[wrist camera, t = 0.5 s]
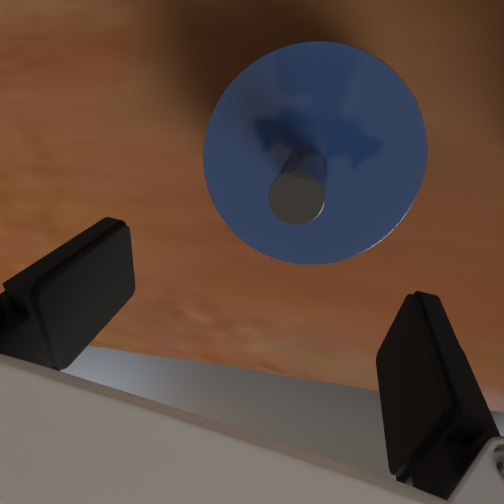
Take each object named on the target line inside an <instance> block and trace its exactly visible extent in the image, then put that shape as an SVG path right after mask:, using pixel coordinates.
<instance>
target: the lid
mask: <svg viewBox="0 0 504 504" xmlns="http://www.w3.org/2000/svg"><path fill="white" fill-rule="evenodd" d="M426 156H427V141H426V130H425V126H424V122H423V118H422V114H421V112H420V110H419V107H418V105H417V102H416V100H415V98H414V96H413V95H412V93H411V92H410V90H409V88H408V87H407V85H406V84H405V83H404V81H403V80H402V79H401V78H400V77H399V76H398V74H397V73H396V72H395V71H394V70H392V69H391V68H390V67H389V66H388V65H386V64H385V63H384V62H383V61H382V60H380V59H378V58H377V57H375V56H373V55H371V54H370V53H368V52H366V51H364V50H361V49H358V48H356V47H353V46H351V45H346V44H341V43H337V42H328V41H310V42H301V43H296V44H292V45H288V46H284V47H281V48H279V49H276V50H274V51H272V52H269V53H267V54H265V55H264V56H262V57H260V58H259V59H257V60H255V61H254V62H252V63H251V64H250V65H249V66H247V67H246V68H245V69H244V70H242V71H241V72H240V73H239V74H238V75H237V76H236V77H235V78H234V80H233V81H232V82H231V83H230V84H229V85H228V87H227V88H226V89H225V91H224V92H223V94H222V95H221V96H220V98H219V100H218V102H217V104H216V106H215V108H214V110H213V112H212V115H211V118H210V120H209V123H208V127H207V131H206V135H205V141H204V151H203V159H204V172H205V179H206V183H207V186H208V190H209V193H210V196H211V198H212V201H213V203H214V205H215V207H216V209H217V211H218V212H219V214H220V216H221V217H222V218H223V220H224V221H225V223H226V224H227V225H228V226H229V228H230V229H231V230H232V231H233V232H234V233H235V234H236V235H237V236H238V237H239V238H240V239H242V240H243V241H244V242H245V243H247V244H248V245H250V246H251V247H252V248H254V249H256V250H258V251H259V252H261V253H263V254H265V255H268V256H270V257H272V258H275V259H278V260H282V261H285V262H290V263H296V264H308V265H313V264H326V263H333V262H337V261H341V260H344V259H348V258H350V257H353V256H355V255H358V254H360V253H362V252H364V251H366V250H368V249H369V248H371V247H373V246H374V245H376V244H377V243H378V242H380V241H381V240H383V239H384V238H385V237H386V236H387V235H388V234H389V233H390V232H392V231H393V230H394V229H395V227H396V226H397V225H398V224H399V223H400V222H401V221H402V219H403V218H404V217H405V215H406V214H407V212H408V211H409V209H410V208H411V206H412V204H413V202H414V200H415V198H416V196H417V194H418V192H419V189H420V186H421V183H422V180H423V176H424V171H425V166H426Z"/></svg>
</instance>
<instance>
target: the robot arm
mask: <svg viewBox="0 0 504 504" xmlns="http://www.w3.org/2000/svg"><path fill="white" fill-rule="evenodd" d="M3 286H4V289H5V291H4V292H2V293H1V294H0V504H504V437H503V436H500V434H499V431H498V429H497V427H496V424H495V422H494V420H493V418H492V415H491V413H490V411H489V408H488V406H487V404H486V401H485V399H484V397H483V395H482V392H481V390H480V388H479V385H478V383H477V381H476V378H475V376H474V374H473V372H472V369H471V367H470V365H469V362H468V360H467V358H466V356H465V353H464V351H463V350H462V348H461V347H460V345H459V343H458V340H457V338H456V336H455V333H454V331H453V329H452V326H451V324H450V322H449V319H448V317H447V315H446V312H445V310H444V308H443V305H442V303H441V301H440V299H439V297H438V296H436V295H432V294H428V293H424V292H420V291H416V292H415V293H414V294H413V295H412V294H408V295H407V296H406V298H405V300H404V302H403V304H402V306H401V308H400V310H399V312H398V314H397V315H396V317H395V319H394V321H393V323H392V325H391V327H390V329H389V331H388V333H387V335H386V337H385V339H384V341H383V343H382V345H381V347H380V349H379V351H378V353H377V357H376V367H377V375H378V383H379V392H380V400H381V407H382V415H383V423H384V432H385V440H386V449H387V457H388V464H389V470H390V472H391V474H393V475H396V481H395V480H393V479H389V478H387V477H384V476H381V475H378V474H375V473H372V472H369V471H366V470H364V469H361V468H358V467H355V466H352V465H349V464H346V463H343V462H340V461H337V460H335V459H331V458H328V457H325V456H322V455H319V454H316V453H313V452H310V451H307V450H304V449H301V448H298V447H294V446H292V445H288V444H285V443H282V442H279V441H276V440H273V439H270V438H267V437H264V436H261V435H258V434H254V433H252V432H249V431H245V430H242V429H239V428H236V427H233V426H230V425H227V424H223V423H221V422H218V421H214V420H211V419H208V418H205V417H202V416H199V415H196V414H193V413H190V412H186V411H183V410H180V409H177V408H173V407H171V406H168V405H164V404H161V403H158V402H155V401H152V400H149V399H146V398H142V397H139V396H136V395H133V394H130V393H127V392H124V391H121V390H117V389H114V388H111V387H108V386H104V385H101V384H98V383H95V382H92V381H89V380H85V379H82V378H79V377H76V376H72V375H70V374H66V373H63V372H60V370H61V369H65V368H67V367H68V366H69V365H70V364H71V363H72V362H73V361H74V360H75V358H77V356H78V355H79V354H80V353H81V352H82V351H83V350H84V349H85V347H87V345H88V344H89V343H90V342H91V341H92V340H93V339H94V338H95V337H96V335H97V334H98V333H99V332H100V331H101V330H102V329H103V328H104V327H105V326H106V324H107V323H108V322H109V321H110V320H111V319H112V318H113V317H114V316H115V314H116V313H117V312H118V311H119V310H120V309H121V308H122V307H123V306H124V305H125V303H126V302H127V301H128V300H129V299H130V298H131V297H132V295H133V294H134V291H135V278H134V267H133V257H132V247H131V236H130V229H129V227H128V226H126V223H125V222H124V221H122V220H118V219H114V218H110V217H106V218H104V219H102V220H100V221H99V222H97V223H96V224H94V225H93V226H91V227H90V228H88V229H86V230H85V231H83V232H82V233H80V234H79V235H77V236H76V237H74V238H72V239H71V240H69V241H68V242H66V243H65V244H63V245H62V246H60V247H58V248H57V249H55V250H54V251H52V252H51V253H49V254H48V255H46V256H44V257H43V258H41V259H40V260H38V261H37V262H35V263H34V264H32V265H31V266H29V267H27V268H26V269H24V270H23V271H21V272H20V273H18V274H17V275H15V276H13V277H12V278H10V279H9V280H7V281H6V282H4V283H3Z"/></svg>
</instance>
